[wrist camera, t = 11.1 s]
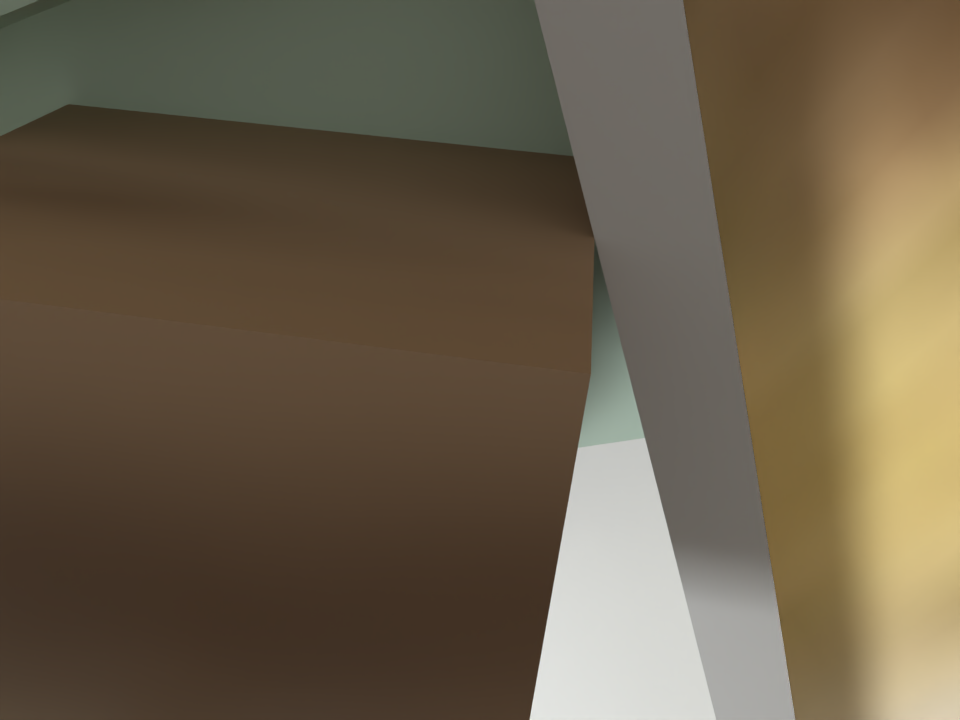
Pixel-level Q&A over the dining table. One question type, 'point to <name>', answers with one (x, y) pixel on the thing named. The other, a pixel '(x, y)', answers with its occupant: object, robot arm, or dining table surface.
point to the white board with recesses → (657, 407)
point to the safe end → (318, 90)
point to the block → (282, 419)
